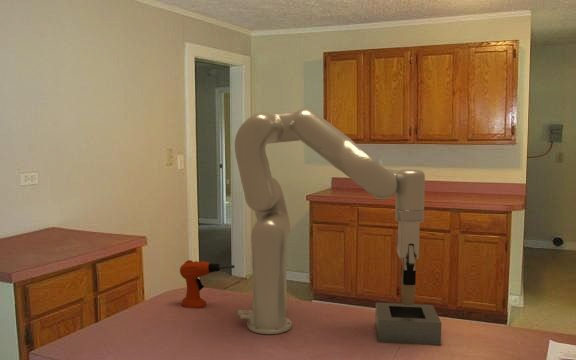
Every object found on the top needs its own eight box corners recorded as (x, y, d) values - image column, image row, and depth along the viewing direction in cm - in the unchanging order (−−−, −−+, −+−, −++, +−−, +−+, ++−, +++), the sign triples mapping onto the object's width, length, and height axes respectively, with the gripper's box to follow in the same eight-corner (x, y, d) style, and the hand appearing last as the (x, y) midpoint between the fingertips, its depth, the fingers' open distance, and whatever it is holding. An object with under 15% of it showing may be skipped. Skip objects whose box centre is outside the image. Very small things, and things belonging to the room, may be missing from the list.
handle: (400, 307, 136) (401, 252, 134) (397, 299, 142) (398, 247, 141) (418, 308, 135) (419, 252, 134) (415, 300, 142) (416, 247, 140)
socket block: (378, 342, 133) (378, 319, 133) (375, 322, 147) (375, 302, 147) (440, 345, 132) (441, 322, 131) (432, 325, 145) (432, 305, 145)
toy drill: (236, 307, 156) (230, 259, 155) (180, 309, 160) (174, 262, 159) (241, 301, 160) (235, 255, 159) (186, 304, 165) (180, 259, 164)
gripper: (392, 210, 145) (391, 273, 147) (398, 220, 129) (397, 290, 130) (419, 211, 144) (418, 274, 146) (428, 220, 128) (426, 292, 129)
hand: (408, 281), depth 138 cm, fingers closed on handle, 4 cm apart
